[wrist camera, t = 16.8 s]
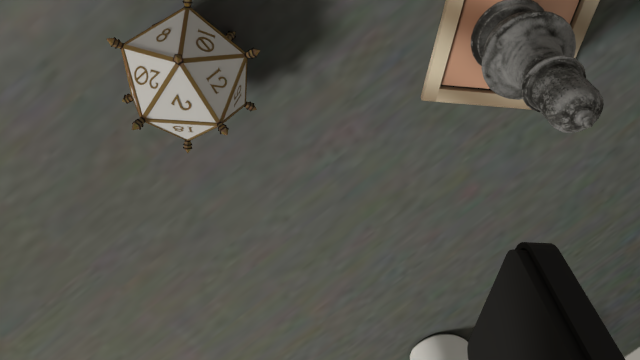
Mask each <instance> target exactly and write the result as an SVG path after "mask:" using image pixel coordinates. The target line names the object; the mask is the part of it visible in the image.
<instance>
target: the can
mask: <svg viewBox="0 0 640 360" xmlns="http://www.w3.org/2000/svg"><path fill="white" fill-rule="evenodd" d="M467 346H468V342H467V341H466V340H465V339H463V338H461V337H459V336H457V335H454V334H436V335H432V336H430V337H427V338H425V339H423V340H422V341H420V342H419V343H418V344H416V345H415V347H414V348H413V350H412V352H411V354H410V360H469V359H468V354H467Z"/></svg>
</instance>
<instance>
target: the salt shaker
mask: <svg viewBox="0 0 640 360" xmlns="http://www.w3.org/2000/svg"><path fill="white" fill-rule="evenodd" d="M471 50H472V54H473V56H474V58H475V60H476V61H477V63H478V64H479V65H481V66H482V68H481V69H482V73H483V77H484V80H485V82H486V83H487V85H488V86H489V88H490V89H491V90H492V91H494V92H495V93H496V94H497V95H499V96H502V97H504V98H507V99H516V100H520V99H523V100H524V102H525V104H526V105H527V106H528V107H529V108H531V109H532V110H535V111H537V112H541V113H542V114H543V115H544V116H545V118H546V119H547V120H548V121H549V123H550V124H551V125H552V126H553V127H555V128H556V129H558V130H560V131H562V132H568V133H572V132H579V131H582V130H585V129H587V128H589V127H592V125H593V124H594V123H595V122H596V121H597V119H598V118H599V116H600V114H601V112H602V110H603V98H602V96H601V94H600V92H599V91H598V90H597V89H596V88H595V87H594V86H593V85H592V84H591V83H590V82H589V81H588V80H587V79H586V74H585V69H584V67H583V65H582V64H581V63H580V62H579V61H578V60H577V59H575V58H574V56H575V50H576V40H575V34H574V32H573V30H572V28H571V25H570V24H569V23H568V22H567V21H566V20H565V19H564V18H563V17H561V16H559V15H557V14H555V13H553V12H547V11H544V9H543V8H542V7H541V6H540V5H539V4H538V3H537V2H535V1H533V0H502V1H500V2H497V3H496V4H494V5H493V6H491V7H490V8H488V9H487V10H486V11H485V12H484V13H483V14H482V16H481V17H480V18H479V19H478V21H477V23H476V24H475V26H474V29H473V32H472V35H471Z"/></svg>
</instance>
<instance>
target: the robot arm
mask: <svg viewBox="0 0 640 360" xmlns="http://www.w3.org/2000/svg"><path fill="white" fill-rule="evenodd" d="M467 354H468V359H469V360H625V358H624V357H623V355H622V353H621V352H620V350H619V348H618V347H617V345H616V344H615V342H614V340H613V339H612V337H611V335H610V334H609V332H608V330H607V329H606V327H605V325H604V324H603V322H602V320H601V319H600V317H599V315H598V314H597V312H596V310H595V309H594V307H593V305H592V304H591V302H590V301H589V299H588V297H587V296H586V294H585V292H584V291H583V289H582V287H581V286H580V284H579V282H578V281H577V279H576V277H575V276H574V274H573V272H572V271H571V269H570V267H569V266H568V264H567V263H566V261H565V259H564V258H563V256H562V254H561V253H560V251H559V249H558V248H557V247H556V246H555V245H553V244H549V243H529V242H522V243H520V244H519V245H517V247H516V249H515V250H510V251H509V252H508V253H507V255H506V257H505V259H504V262H503V264H502V266H501V268H500V271H499V273H498V275H497V277H496V280H495V282H494V284H493V286H492V289H491V291H490V293H489V295H488V298H487V300H486V302H485V304H484V307H483V309H482V311H481V314H480V316H479V318H478V320H477V323H476V325H475V327H474V329H473V332H472V334H471V336H470V338H469V341H468V346H467Z"/></svg>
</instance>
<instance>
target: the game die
mask: <svg viewBox="0 0 640 360" xmlns="http://www.w3.org/2000/svg"><path fill="white" fill-rule="evenodd" d="M183 3H184V5H185V6H184V8H182V9H180V10H179V11H177V12H175V13H174V14H172V15H170V16H169V17H167V18H165V19H164V20H162V21H160V22H159V23H157V24H155V25H152V27H150V28H149V29H147V30H145V31H144V32H142V33H140V34H139V35H137V36H135V37H134V38H132V39H130V40H129V41H127V42H125V43H121V42H120V40H119V39H118V40H117V39H116V38H115V37H114V38H108V39H107V40H108V42H109V43H110V45H111V47H112V46H113V47H115V48H120V49H121V51H122V55H123V60H124V64H125V69H126V73H127V78H128V82H129V87H130V91H131V95H130V94H127V95H124V98H123V100H122V101H123V102H126V103H129V102H132V101H134V104H135V106H136V109H137V111H138V114H139V116H140V119H137V120H135V121H134V122H133V123H132V124H133V126H132V130H136V129H141V127H143V124H144V123H145V122H146V123H148V124H150V125H153V126H155V127H157V128H159V129H162V130H164V131H166V132H168V133H171V134H173V135H175V136H177V137H180V138H182V139H184V140H185V143H184V144H183V145H184V147H183V148H184V149H185V150H186V152H187V153H188V152H189V151H190V150H191V149H192V147H191V145H192V144H191V142H190V141H191V140H192V139H194V138H196V137H198V136H200V135H202V134H204V133H206V132H208V131H210V130H212V129H214V128H216V127H218V131H220V134H224V135H227V134H228V129H229V128H227V127H226V125H225V124H223V123H224V122H226V121H227V120H228V119H229V118H230V117H232V116H233V115H234V114H235V113H237V112H238V111H239V110H240V109H241V108H243V107H246V109H247V110H248V109H249V110H250V111H252V110H257V109H256V107H255V106H254V103H251V102H246V87H247V59H248V58H252V59H253V57H255V58H256V56H257V54H258V53H259V51H260V50H257V49H254V48H252V49H251V50H248V52H244V51H243V50H242V49H241V48H239V47H238V46H237V45H236V44H235V43H233V42H232V41H231V40H233V39H234V38H235V37H236V36H235V32H230V31H228V33H227V34H226V36H225V35H224V34H222V33H221V32H220V31H219V30H217V29H216V28H215V27H214V26H213V25H211V24H210V23H209V22H208V21H206V20H205V19H204V18H203V17H202V16H200V15H199V14H198V13H197V12H195V11H194V10H193V9H192V8H191V3H192V0H183Z"/></svg>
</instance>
